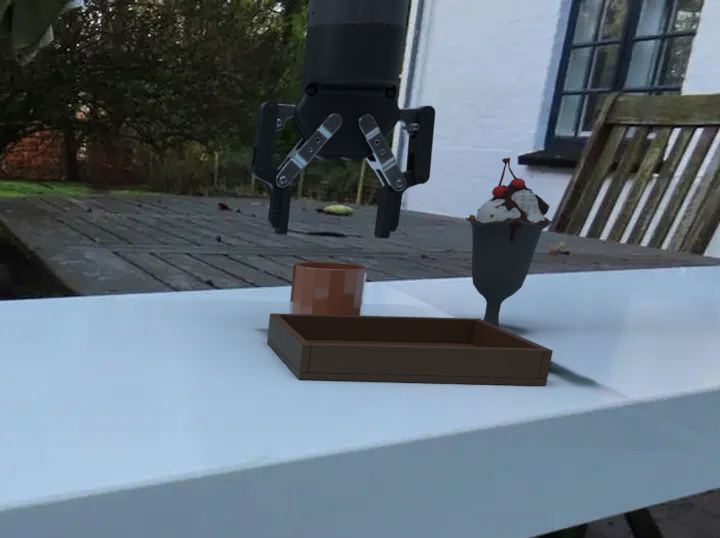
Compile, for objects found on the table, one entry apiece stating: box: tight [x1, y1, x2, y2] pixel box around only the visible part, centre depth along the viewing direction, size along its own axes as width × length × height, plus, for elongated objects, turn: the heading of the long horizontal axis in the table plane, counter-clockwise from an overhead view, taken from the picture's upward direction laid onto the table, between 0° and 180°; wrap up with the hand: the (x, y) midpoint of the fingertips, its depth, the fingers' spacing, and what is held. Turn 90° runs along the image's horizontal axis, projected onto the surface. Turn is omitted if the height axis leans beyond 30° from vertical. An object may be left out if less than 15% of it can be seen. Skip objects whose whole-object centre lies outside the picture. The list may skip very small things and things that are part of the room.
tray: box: [267, 313, 554, 387], centre depth 70 cm, size 17×13×2 cm
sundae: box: [465, 157, 553, 327], centre depth 77 cm, size 7×7×15 cm
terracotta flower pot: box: [288, 261, 368, 316], centre depth 80 cm, size 6×6×6 cm
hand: (331, 236), depth 78 cm, fingers open, 8 cm apart
